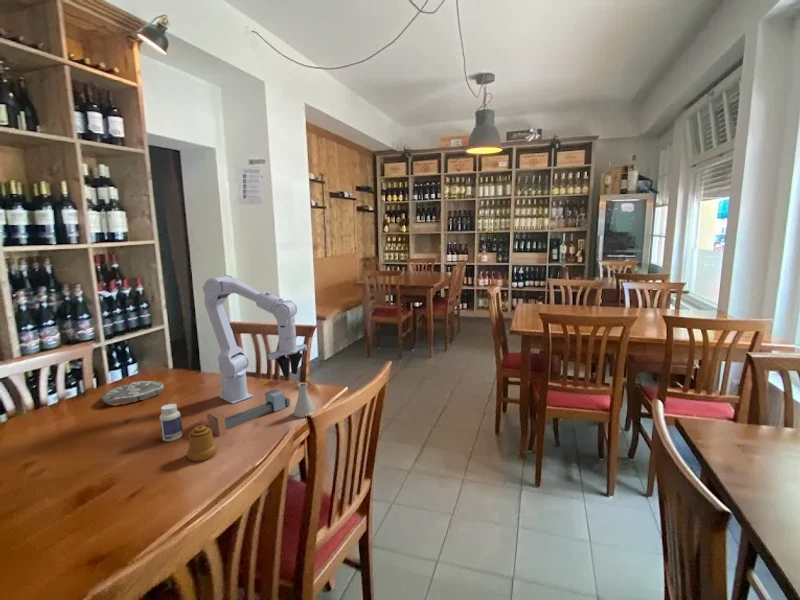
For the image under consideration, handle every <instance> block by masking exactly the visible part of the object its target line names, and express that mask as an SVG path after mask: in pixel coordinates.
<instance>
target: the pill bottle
mask: <svg viewBox="0 0 800 600" xmlns="http://www.w3.org/2000/svg"><path fill="white" fill-rule="evenodd" d="M160 411H161V413H160V415H159V423H160V424H159V425H160V431H161V433H160V434H161V437H162V438H161V440H163V441H165V442H172V441H176V440H179V439H180V438H182V436H183V433H184V432H183V425H182V424H183V423H182V416H181V412H180V411H179V410H178V406H177V404H176V403H168V404H164V405H162V406H161V407H160Z"/></svg>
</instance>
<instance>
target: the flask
mask: <svg viewBox="0 0 800 600" xmlns="http://www.w3.org/2000/svg"><path fill="white" fill-rule="evenodd" d="M297 388H298V397H297V401H296V403H295V407H294V411H293V417H296V418H306V417H305V416H306V414H308V413H310V412H313V411H315V412H316V408H315V406H314V404H313V402H312V400H311V397H310V395H309V393H308V392H309V391H308V383H307V382H300V383H298V384H297Z"/></svg>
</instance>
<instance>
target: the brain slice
mask: <svg viewBox="0 0 800 600" xmlns="http://www.w3.org/2000/svg"><path fill="white" fill-rule="evenodd" d="M163 383H164V382H162V381H157V380H156V381H155V380H154V381H153V380H147V381H144V380H142V381H141V380H140V381H134V382H130V383H129V384H122V385H118V386H117V385H116V386H115V387H114V388H111V389H109V390H108V391H107V392H105V393H104V394H103V395H102V396H101V398H100V399H101V400H102V401H103V402H104V403H105V404H107V405H108V406H111V404H116V403H124V402H134V401H138V400H143V399H146V398H149V397H152V398H154V397H153V396H155V397H157V396H156V395H158V396H159V395H160V394H162V392H163V391H164V389H165V384H163ZM149 399H150V398H149ZM138 402H139V401H138Z"/></svg>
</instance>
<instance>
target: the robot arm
mask: <svg viewBox="0 0 800 600" xmlns="http://www.w3.org/2000/svg"><path fill="white" fill-rule="evenodd" d="M202 291H203V294H204V307H205V308H206V312H207V315H208V317H209V320H210V324H211V326H212V329H213V332H214V334H215V338H216V340H217V343H218V347H219V349H220V353H219V355H218V358H217V361H218V370H219V373H220V374H221V376H220V377H221V378H220V388H221V395H219V398H221V399H222V400H224V401H226V402H228V403H231V404H236V403H239V402H242V401H245V400H247V399H251V398H252V397H254V395H253V394H251V393H249V392H248V383H247V382H248V381H247V368H248V367H249V364H250V359H249V356H247V355H246V353H245V352H244V349H243V348H241V347H240V346H239V345H237V342H236V339H235V335H234V334H233V330H232V328H231V324H230V322H229V318H228V316H227V313H226V311H225V307H224V302H226V299H227V298H228V297H229V296H230V295H231V294H236V295H239V296H240V297H243V298H246V299H248V300H251V301H253V302H255V304H256V306H257V307H258V308H260V309H261V310H264V311H266V312H267V313H271V314H272V316H273V317H274V318H275V319H276V323H277V333H278V334H277V335H278V346H279V348H278V349H277V350H274V351H273V352H270V353H268V354H267V356H268V357H267V358H268V361H269V360H270V361H274V360H275V361H276V362H277V364H278V366H279V368H280V371H281V373H282V376H283V377H284V378H288V377H289V375H290V373H291V374H294V375H297V374H298V370H299V369H298V368H299V364H300V362H301V359H302V358H303V353H302V352H303V351H304V352H305V351H308V345H307V344H305V343H303V344H299V345H297V333H296V332H297V331H296V330H297V329H296V318H295V317H296V314H297V313H298V312H297V311H298V308H297V305H296V303H295V302H293V300H289V299H287V300H284V298H282V297H277V296H276V295H274V294H273V293H272V291H262V292H259V291H258V290H256V289H254V288H253V287H251V286H249V285H246V283H244V282H242V281H240V280H239V279H238V278H236V277H233V276H232V275H228V274H227V275H226V274H225V275H224V276H219V277H217V276H216V277H212V278H208V279H206V281H205V282H204V284H203V286H202ZM287 356H288V357H287ZM289 363H290V371H291V372H290V373H289Z"/></svg>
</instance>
